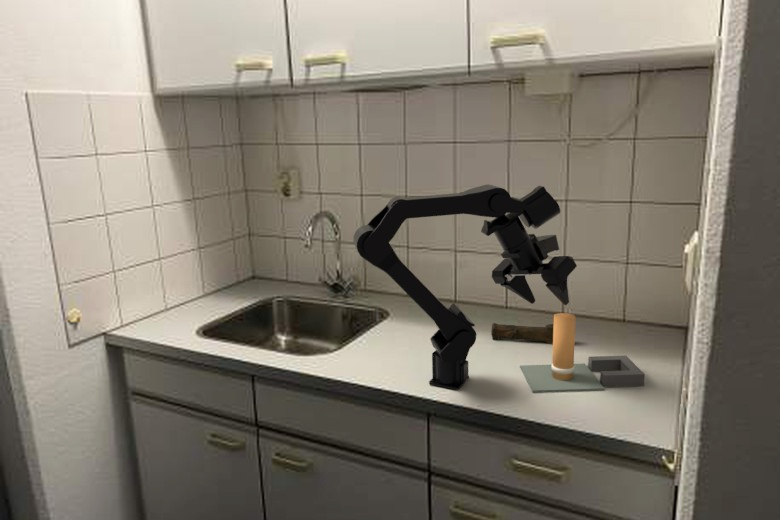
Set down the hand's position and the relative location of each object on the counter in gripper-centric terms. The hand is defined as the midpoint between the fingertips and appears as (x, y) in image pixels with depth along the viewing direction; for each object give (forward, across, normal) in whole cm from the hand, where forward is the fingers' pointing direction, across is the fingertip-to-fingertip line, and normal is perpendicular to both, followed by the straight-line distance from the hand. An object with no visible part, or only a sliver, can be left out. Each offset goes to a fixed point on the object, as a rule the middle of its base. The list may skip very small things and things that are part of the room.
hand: (549, 303), depth 123 cm
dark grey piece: (+19, -6, 0) cm, 20 cm away
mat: (+14, -1, +8) cm, 16 cm away
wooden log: (+15, +18, -4) cm, 24 cm away
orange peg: (+14, -1, +7) cm, 15 cm away
